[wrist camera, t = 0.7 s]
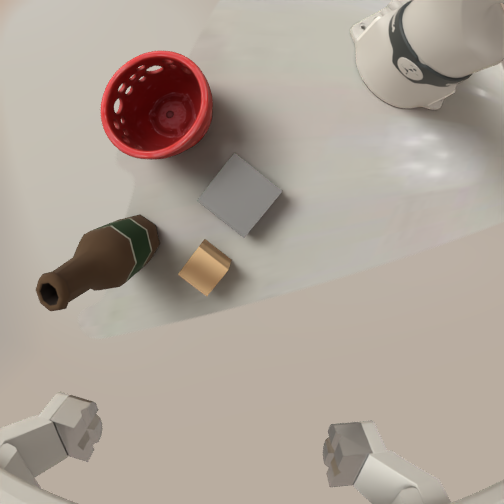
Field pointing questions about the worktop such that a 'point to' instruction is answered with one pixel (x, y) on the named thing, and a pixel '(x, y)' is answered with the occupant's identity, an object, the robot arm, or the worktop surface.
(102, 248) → the beer bottle
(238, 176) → the block
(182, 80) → the plant pot
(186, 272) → the oak cube
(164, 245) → the worktop surface
